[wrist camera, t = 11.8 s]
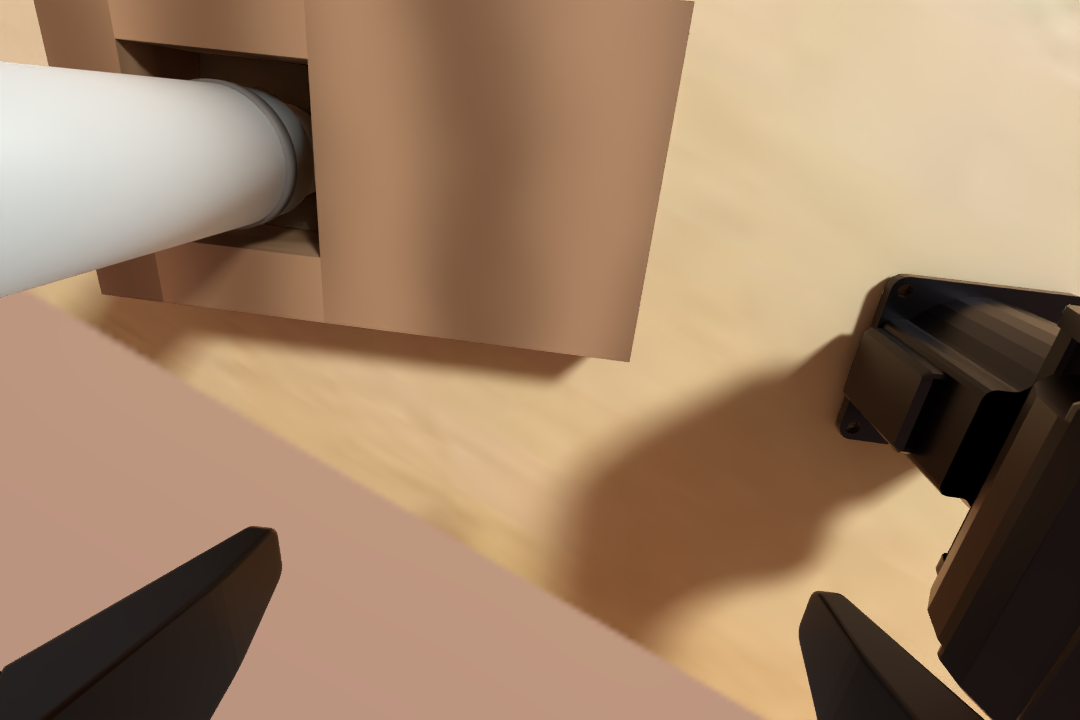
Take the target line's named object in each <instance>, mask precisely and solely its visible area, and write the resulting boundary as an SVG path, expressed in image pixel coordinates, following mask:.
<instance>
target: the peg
mask: <svg viewBox="0 0 1080 720" xmlns="http://www.w3.org/2000/svg"><path fill="white" fill-rule="evenodd" d="M314 191H316V183H315V167H314V151H313V135H312V120H311V116H310V115H308V114H307V113H306V112H305V111H303V110H302V109H300V108H298V107H296V106H294V105H291V104H288V103H283V102H282V101H280V100H279V99H278V98H276V97H275V96H273V95H272V94H270V93H268V92H265V91H263V90H260V89H257V88H254V87H248V86H241V85H239V84H236V83H233V82H230V81H225V80H218V79H205V78H200V79H192V80H179V79H169V78H159V77H149V76H139V75H129V74H119V73H109V72H100V71H90V70H80V69H70V68H60V67H50V66H40V65H30V64H20V63H10V62H0V298H1V297H4V296H7V295H11V294H14V293H18V292H21V291H25V290H28V289H31V288H35V287H38V286H42V285H45V284H48V283H52V282H55V281H59V280H62V279H65V278H69V277H72V276H76V275H79V274H83V273H86V272H89V271H93V270H96V269H100V268H103V267H106V266H110V265H113V264H117V263H120V262H123V261H127V260H130V259H134V258H137V257H141V256H144V255H147V254H151V253H154V252H158V251H161V250H164V249H168V248H171V247H175V246H178V245H181V244H185V243H188V242H192V241H195V240H199V239H202V238H205V237H209V236H212V235H216V234H219V233H222V232H226V231H229V230H233V229H237V230H238V229H247V228H251V227H255V226H258V225H262V224H264V223H267V222H269V221H271V220H273V219H274V218H276V217H277V216H280V215H283V214H286V213H288V212H290V211H291V210H293V209H295V208H296V207H297V206H298V205H299V204H300V203H301V202H302V201H303V199H304V198H305V196H307V195H309V194H311V193H313V192H314Z"/></svg>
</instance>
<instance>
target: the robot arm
mask: <svg viewBox="0 0 1080 720" xmlns="http://www.w3.org/2000/svg"><path fill="white" fill-rule="evenodd" d="M904 284H908V288H907V290H906V291H905V292H904V293H903V294H899V295H898V289H899V288H900V286H902V285H904ZM1069 304H1070V305H1069ZM1065 307H1066V308H1065ZM1064 308H1065V310H1064V312H1063V309H1064ZM1062 313H1063V314H1062ZM843 392H844V393H845V398H844V401H843V403H842V406H841V409H840V412H839V414H838V417H837V420H836V428H837V430H838V431H839V432H840V434H841V435H842V436H843V437H845V438H848V439H853V440H861V441H868V442H876V443H883V444H890V445H891V446H892V448H893V449H894V450H895V451H896V452H898V453H904V454H905V455H906V456H907V457H908V458H909V459H910V460H911V461H912V462H913V464H914V465H915V466H916V467H917V468H918V469H919V470H920V471H921V472H922V473H923V474H924V475H925V477H926V478H927V479H928V480H929V481H930V482H931V483H932V484H933V485H934V486H935V487H936V488H937V490H938V491H939V492H940V493H941V494H942V495H945V496H948V497H956V498H960V499H961V500H962V501H963V502H964V503H965V504H966V505H967V506H968V507H969V508H970V510H969V512H968V514H967V515H966V517H965V519H964V521H963V523H962V525H961V527H960V529H959V531H958V533H957V535H956V537H955V539H954V541H953V543H952V545H951V547H950V549H949V551H948V553H944V554H942V556H941V558H940V560H939V562H938V564H937V566H936V571H937V575H938V576H937V578H936V580H935V582H934V584H933V586H932V588H931V591H930V597H929V603H928V609H927V610H928V613H929V616H930V619H931V621H932V624H933V627H934V630H935V633H936V635H937V638H938V640H939V642H940V644H941V646H940V648H939V650H938V653H937V655H938V657H939V660H940V661H941V662H942V664H943V665H944V666H945V668H946V669H947V670H948V672H949V673H950V674H951V676H952V677H953V678H954V680H955V681H956V682H957V684H958V685H959V686H960V688H961V689H962V690H963V691H964V693H965V694H966V695H967V696H968V697H969V698H970V699H971V700H972V701H973V702H974V703H975V704H976V705H977V706H978V707H979V708H980V709H981V710H982V711H983V712H984V713H985V714H986V715H987V716H988V717H989V718H990V719H991V720H1080V297H1078V296H1076V295H1073V294H1070V293H1063V292H1054V291H1046V290H1038V289H1029V288H1021V287H1012V286H1004V285H995V284H987V283H979V282H970V281H962V280H953V279H945V278H936V277H928V276H919V275H911V274H898V275H896V276H894V277H892V278H891V279H890V280H889V281H888V282H887V284H886V286H885V288H884V291H883V294H882V297H881V299H880V302H879V305H878V307H877V310H876V313H875V316H874V318H873V321H872V324H871V327H870V328H869V329H868V330H867V331H865V332H864V334H863V337H862V339H861V342H860V345H859V348H858V350H857V353H856V356H855V359H854V361H853V364H852V367H851V370H850V372H849V375H848V378H847V381H846V384H845V386H844V389H843ZM852 422H856V424H855V425H854V427H852V428H846V427H847V426H848V424H850V423H852ZM281 571H282V561H281V554H280V547H279V541H278V535H277V532H276V531H275V530H274V529H272V528H267V527H258V526H250V527H248V528H246V529H244V530H242V531H240V532H239V533H237V534H235V535H233V536H231V537H230V538H228V539H226V540H225V541H223V542H221V543H219V544H218V545H216V546H214V547H212V548H211V549H209V550H207V551H205V552H204V553H202V554H200V555H198V556H197V557H195V558H193V559H191V560H190V561H188V562H186V563H184V564H183V565H181V566H179V567H177V568H176V569H174V570H172V571H170V572H169V573H167V574H166V575H163V576H162V577H160V578H158V579H157V580H155V581H153V582H151V583H150V584H148V585H146V586H144V587H143V588H141V589H139V590H137V591H136V592H134V593H132V594H130V595H129V596H127V597H125V598H123V599H122V600H120V601H118V602H117V603H115V604H113V605H111V606H109V607H108V608H106V609H104V610H102V611H101V612H99V613H97V614H96V615H94V616H92V617H90V618H89V619H87V620H85V621H83V622H82V623H80V624H78V625H76V626H75V627H73V628H71V629H70V630H68V631H66V632H64V633H62V634H61V635H59V636H57V637H55V638H54V639H52V640H50V641H48V642H47V643H45V644H43V645H42V646H40V647H38V648H36V649H34V650H33V651H31V652H29V653H27V654H26V655H24V656H22V657H21V658H19V659H17V660H15V661H14V662H12V663H10V664H8V665H7V666H5V667H4V668H3V670H2V672H1V671H0V720H210V719H211V717H212V715H213V714H214V712H215V710H216V708H217V707H218V705H219V703H220V701H221V699H222V698H223V696H224V694H225V693H226V691H227V689H228V687H229V686H230V684H231V682H232V680H233V678H234V677H235V675H236V673H237V671H238V669H239V667H240V665H241V663H242V661H243V659H244V657H245V655H246V653H247V650H248V648H249V646H250V644H251V641H252V639H253V637H254V635H255V632H256V630H257V628H258V626H259V624H260V621H261V619H262V617H263V614H264V612H265V610H266V608H267V606H268V603H269V601H270V599H271V597H272V595H273V592H274V590H275V588H276V586H277V583H278V581H279V579H280V575H281ZM799 641H800V646H801V650H802V655H803V659H804V663H805V668H806V672H807V676H808V681H809V685H810V689H811V694H812V698H813V702H814V707H815V711H816V716H817V720H984V719H983V718H982V717H981V716H980V715H979V714H978V713H976V712H975V711H974V710H973V709H972V708H971V707H970V706H968V705H967V704H966V703H965V702H964V701H963V700H962V699H960V698H959V697H958V696H957V695H956V694H955V693H954V692H953V691H951V690H950V689H949V688H948V687H947V686H946V685H945V684H943V683H942V682H941V681H940V680H939V679H938V678H937V677H935V676H934V675H933V674H932V673H931V672H930V671H929V670H927V669H926V668H925V667H924V666H923V665H922V664H921V663H920V662H918V661H917V660H916V659H915V658H914V657H913V656H912V655H910V654H909V653H908V652H907V651H906V650H905V649H904V648H902V647H901V646H900V645H899V644H898V643H897V642H896V641H895V640H893V639H892V638H891V637H890V636H889V635H888V634H887V633H885V632H884V631H883V630H882V629H881V628H880V627H879V626H877V625H876V624H875V623H874V622H873V621H872V620H871V619H870V618H868V617H867V616H866V615H865V614H864V613H863V612H862V611H860V610H859V609H858V608H857V607H856V606H855V605H854V604H852V603H851V602H850V601H849V600H848V599H847V598H846V597H844V596H843V595H841V594H838V593H833V592H824V591H815V592H814V593H813V594H812V595H811V597H810V599H809V602H808V604H807V607H806V610H805V612H804V615H803V618H802V620H801V623H800V626H799Z"/></svg>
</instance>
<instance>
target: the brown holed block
mask: <svg viewBox="0 0 1080 720" xmlns="http://www.w3.org/2000/svg"><path fill="white" fill-rule="evenodd" d="M34 4H35V8H36V13H37V17H38V21H39V25H40V30H41V34H42V38H43V43H44V47H45V51H46V56H47V60H48V64H49V66H50V67H60V68H70V69H80V70H90V71H100V72H109V73H119V74H129V75H139V76H149V77H159V78H169V79H179V80H192V79H200V78H201V77H200V70H199V62H198V55H197V53H205V54H215V55H224V56H234V57H243V58H252V59H262V60H271V61H281V62H290V63H300V64H308V72H309V88H310V104H311V120H312V135H313V151H314V167H315V183H316V198H317V214H318V230H319V232H318V231H310V230H302V229H293V228H285V227H277V226H269V225H258V226H255V227H251V228H247V229H238V230H237V229H233V230H229V231H226V232H222V233H219V234H216V235H212V236H209V237H205V238H202V239H199V240H195V241H192V242H188V243H185V244H181V245H178V246H175V247H171V248H168V249H164V250H161V251H158V252H154V253H151V254H147V255H144V256H141V257H137V258H134V259H130V260H127V261H123V262H120V263H117V264H113V265H110V266H106V267H103V268H100V269H96V271H97V275H98V279H99V284H100V288H101V292H102V294H105V295H113V296H120V297H128V298H136V299H144V300H151V301H159V302H167V303H175V304H182V305H190V306H198V307H206V308H213V309H221V310H229V311H237V312H244V313H252V314H260V315H268V316H275V317H283V318H291V319H299V320H306V321H314V322H322V323H330V324H337V325H345V326H353V327H361V328H368V329H376V330H384V331H392V332H399V333H407V334H415V335H423V336H430V337H438V338H446V339H454V340H461V341H469V342H477V343H485V344H492V345H500V346H508V347H516V348H523V349H531V350H539V351H547V352H554V353H562V354H570V355H578V356H585V357H593V358H601V359H609V360H616V361H624V362H629V361H630V356H631V350H632V345H633V339H634V334H635V328H636V323H637V317H638V312H639V306H640V300H641V295H642V289H643V284H644V278H645V273H646V267H647V262H648V256H649V251H650V245H651V240H652V234H653V229H654V223H655V217H656V212H657V206H658V201H659V195H660V190H661V184H662V179H663V173H664V168H665V162H666V157H667V151H668V146H669V140H670V134H671V129H672V123H673V118H674V112H675V107H676V101H677V96H678V90H679V85H680V79H681V74H682V68H683V63H684V57H685V51H686V46H687V40H688V35H689V29H690V24H691V18H692V13H693V7H694V1H684V0H34Z"/></svg>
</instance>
